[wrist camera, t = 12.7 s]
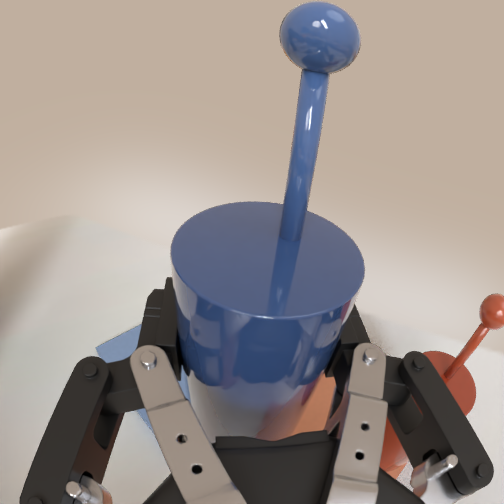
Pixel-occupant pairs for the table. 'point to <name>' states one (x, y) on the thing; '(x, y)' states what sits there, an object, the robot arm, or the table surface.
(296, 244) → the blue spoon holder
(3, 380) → the table surface
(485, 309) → the terracotta spoon holder
